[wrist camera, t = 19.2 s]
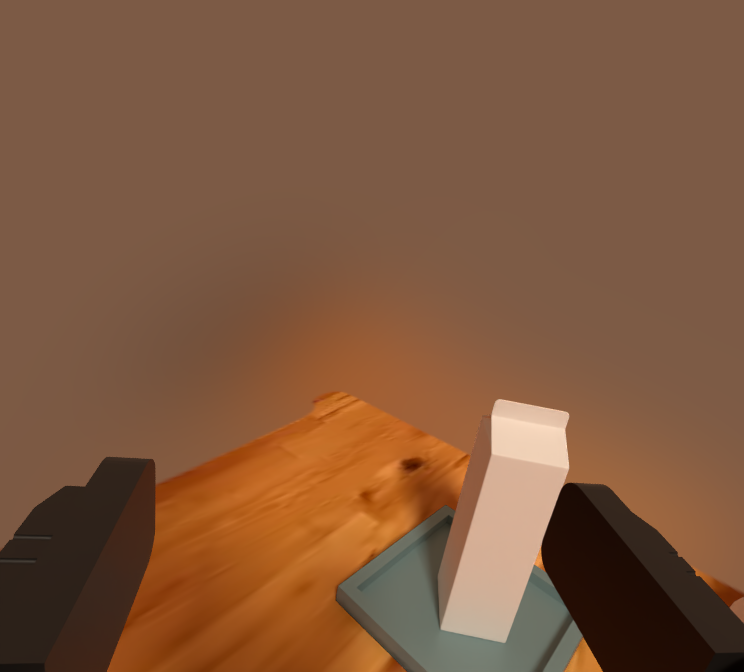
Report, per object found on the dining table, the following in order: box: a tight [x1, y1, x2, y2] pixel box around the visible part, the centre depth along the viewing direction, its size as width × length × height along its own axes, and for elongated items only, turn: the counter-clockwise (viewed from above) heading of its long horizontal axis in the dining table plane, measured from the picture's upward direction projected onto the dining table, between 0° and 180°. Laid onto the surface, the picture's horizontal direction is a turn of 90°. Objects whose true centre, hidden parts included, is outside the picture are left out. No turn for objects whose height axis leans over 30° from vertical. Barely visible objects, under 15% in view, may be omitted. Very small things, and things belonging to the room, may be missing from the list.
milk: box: [438, 399, 569, 643], centre depth 41 cm, size 6×6×22 cm
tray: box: [336, 505, 583, 672], centre depth 45 cm, size 18×18×2 cm
